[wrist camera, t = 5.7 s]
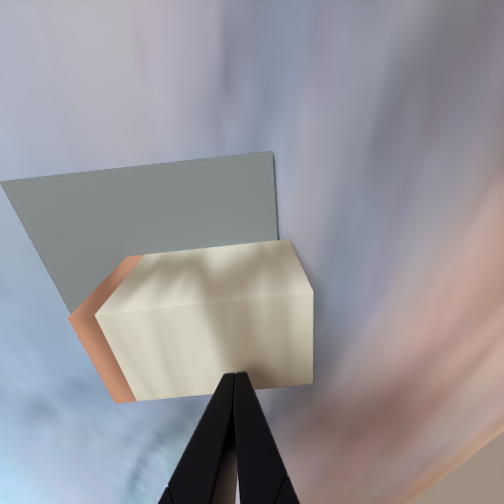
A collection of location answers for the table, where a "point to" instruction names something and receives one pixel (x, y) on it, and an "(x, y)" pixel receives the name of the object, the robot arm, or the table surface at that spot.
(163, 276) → the block
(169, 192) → the mat
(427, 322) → the table surface
